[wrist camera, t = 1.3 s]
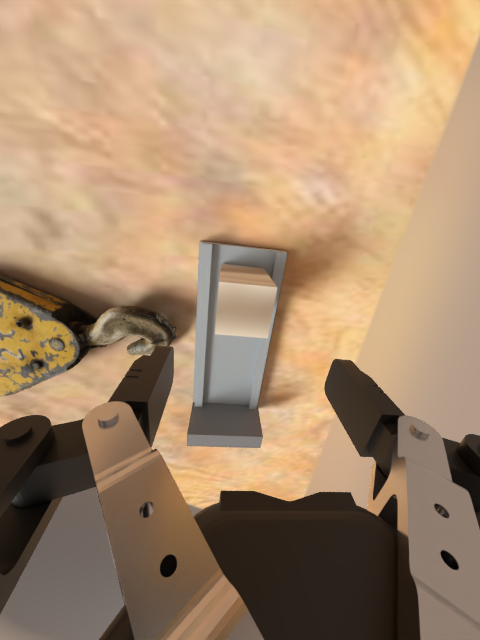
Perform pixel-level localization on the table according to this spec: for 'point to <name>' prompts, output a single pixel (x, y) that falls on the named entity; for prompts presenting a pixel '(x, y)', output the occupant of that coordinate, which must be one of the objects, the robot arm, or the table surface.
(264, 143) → the table surface
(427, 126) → the table surface
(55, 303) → the pulley block
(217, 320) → the block
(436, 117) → the table surface
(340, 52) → the table surface
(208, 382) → the rail
